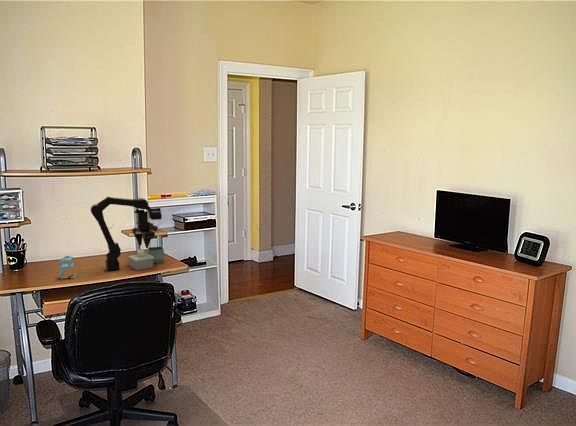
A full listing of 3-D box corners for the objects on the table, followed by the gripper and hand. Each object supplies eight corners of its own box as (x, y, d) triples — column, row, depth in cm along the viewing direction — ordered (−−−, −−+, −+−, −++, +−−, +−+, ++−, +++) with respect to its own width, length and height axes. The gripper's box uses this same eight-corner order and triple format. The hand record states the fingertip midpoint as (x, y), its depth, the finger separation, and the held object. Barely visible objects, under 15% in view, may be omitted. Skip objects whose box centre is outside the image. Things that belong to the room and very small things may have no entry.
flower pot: (165, 263, 309) (164, 249, 308) (149, 265, 306) (149, 250, 304) (162, 260, 317) (162, 246, 316) (148, 261, 314) (147, 247, 313)
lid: (135, 261, 291) (135, 252, 290) (128, 257, 300) (127, 249, 299) (154, 258, 298) (153, 249, 297) (146, 254, 306) (145, 246, 306)
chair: (60, 276, 285) (58, 255, 283) (76, 275, 287) (74, 254, 285) (58, 280, 278) (55, 258, 276) (74, 279, 280) (72, 257, 278)
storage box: (136, 271, 293) (136, 261, 292) (130, 267, 301) (129, 257, 300) (153, 268, 299) (152, 258, 298) (146, 264, 307) (145, 255, 306)
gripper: (163, 221, 296) (163, 247, 299) (149, 216, 310) (149, 242, 313) (144, 223, 289) (145, 250, 291) (131, 218, 303) (132, 244, 306)
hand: (143, 246), depth 301 cm, fingers open, 9 cm apart
